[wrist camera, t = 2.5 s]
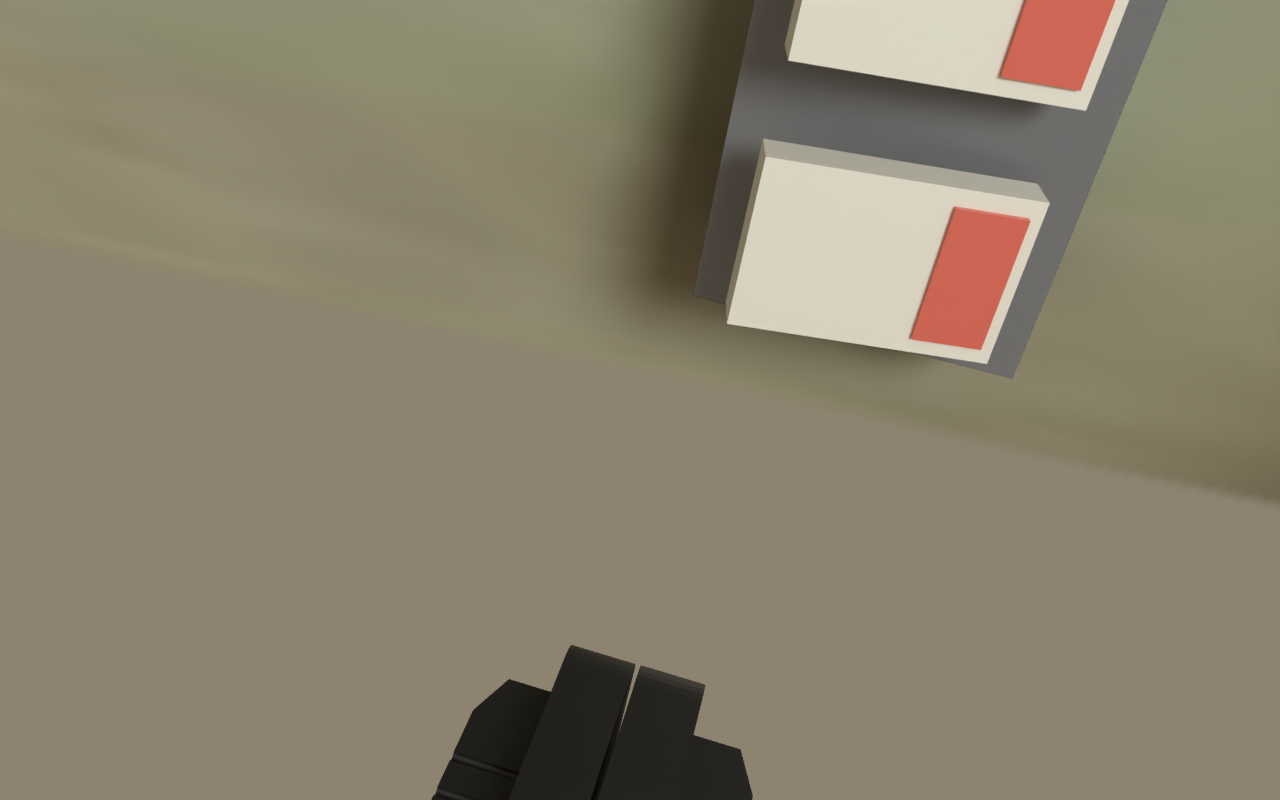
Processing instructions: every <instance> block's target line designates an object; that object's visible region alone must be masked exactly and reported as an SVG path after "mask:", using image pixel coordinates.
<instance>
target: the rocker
mask: <svg viewBox="0 0 1280 800" xmlns="http://www.w3.org/2000/svg"><path fill="white" fill-rule="evenodd" d="M1049 204H1050V203H1049V201H1048V199H1047V198H1046V196H1045V195H1044V193H1043V191H1042V190H1041V188H1040V187H1039V185H1038V184H1036V183H1030V182H1024V181H1018V180H1012V179H1006V178H1000V177H994V176H988V175H982V174H976V173H970V172H964V171H958V170H951V169H945V168H939V167H933V166H927V165H921V164H915V163H909V162H903V161H897V160H891V159H885V158H879V157H872V156H866V155H860V154H854V153H848V152H842V151H836V150H830V149H824V148H818V147H812V146H806V145H800V144H794V143H787V142H781V141H775V140H769V139H763V141H762V145H761V150H760V154H759V159H758V163H757V167H756V172H755V176H754V180H753V185H752V189H751V194H750V198H749V202H748V207H747V211H746V215H745V220H744V224H743V228H742V233H741V237H740V242H739V246H738V250H737V255H736V259H735V263H734V268H733V272H732V276H731V281H730V285H729V290H728V294H727V298H726V316H727V324H732V325H738V326H745V327H751V328H758V329H764V330H771V331H777V332H784V333H790V334H797V335H803V336H810V337H816V338H822V339H829V340H835V341H842V342H848V343H855V344H861V345H868V346H874V347H881V348H887V349H894V350H900V351H907V352H913V353H920V354H926V355H932V356H939V357H945V358H952V359H958V360H965V361H971V362H978V363H984V364H987V363H988V360H989V358H990V355H991V352H992V350H993V347H994V345H995V342H996V340H997V337H998V335H999V332H1000V329H1001V327H1002V324H1003V322H1004V319H1005V317H1006V314H1007V312H1008V309H1009V306H1010V304H1011V301H1012V299H1013V296H1014V294H1015V291H1016V288H1017V286H1018V283H1019V281H1020V278H1021V276H1022V273H1023V271H1024V268H1025V265H1026V263H1027V260H1028V258H1029V255H1030V253H1031V250H1032V248H1033V245H1034V242H1035V240H1036V237H1037V235H1038V232H1039V230H1040V227H1041V225H1042V222H1043V219H1044V217H1045V214H1046V212H1047V209H1048V207H1049Z"/></svg>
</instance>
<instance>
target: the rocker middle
mask: <svg viewBox="0 0 1280 800" xmlns="http://www.w3.org/2000/svg"><path fill="white" fill-rule="evenodd" d="M1128 2H1129V0H795V1H794V6H793V10H792V14H791V19H790V23H789V28H788V32H787V36H786V41H785V49H786V53H787V58H788V61H794V62H800V63H806V64H812V65H818V66H824V67H830V68H835V69H841V70H847V71H853V72H859V73H865V74H871V75H877V76H883V77H889V78H895V79H901V80H906V81H912V82H918V83H924V84H930V85H936V86H942V87H948V88H954V89H960V90H966V91H972V92H977V93H983V94H989V95H995V96H1001V97H1007V98H1013V99H1019V100H1025V101H1031V102H1037V103H1043V104H1048V105H1054V106H1060V107H1066V108H1072V109H1078V110H1084V111H1086V109H1087V107H1088V104H1089V102H1090V99H1091V97H1092V94H1093V92H1094V89H1095V86H1096V84H1097V81H1098V79H1099V76H1100V74H1101V71H1102V69H1103V66H1104V63H1105V61H1106V58H1107V56H1108V53H1109V51H1110V48H1111V46H1112V43H1113V40H1114V38H1115V35H1116V33H1117V30H1118V28H1119V25H1120V22H1121V20H1122V17H1123V15H1124V12H1125V10H1126V7H1127V5H1128Z"/></svg>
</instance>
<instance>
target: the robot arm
mask: <svg viewBox="0 0 1280 800" xmlns="http://www.w3.org/2000/svg"><path fill="white" fill-rule="evenodd" d="M634 669H635V664H633V663H630V662H627V661H623V660H620V659H617V658H613V657H610V656H607V655H603V654H600V653H596V652H593V651H590V650H587V649H583V648H580V647H577V646H573V645H571V646H570V648H569V650H568V652H567V654H566V656H565V658H564V661H563V663H562V666H561V669H560V671H559V674H558V676H557V679H556V681H555V683H554V686H553V688H552V691H551V692H549V691H546V690H543V689H539V688H536V687H533V686H530V685H526V684H523V683H520V682H517V681H513V680H510V679H509V680H507V681H506V682H505V683H504V684H503V685H502V686H501V687H499V688H498V689H497V690H496V691H495V692H494V693H493V694H491V695H490V696H489V697H488V698H487V699H485V700H484V701H483V702H482V703H481V704H480V705H479V706H477V707H476V708H475V709H474V710H473V712H472V714H471V716H470V718H469V720H468V723H467V725H466V727H465V729H464V731H463V733H462V735H461V738H460V740H459V742H458V744H457V746H456V748H455V751H454V754H453V757H452V759H451V760H450V761H449V763H448V765H447V768H446V770H445V772H444V774H443V776H442V778H441V780H440V783H439V785H438V788H437V791H436V794H435V796H433V798H432V800H752V797H753V795H752V792H751V788H750V784H749V780H748V776H747V773H746V769H745V765H744V761H743V757H742V754H741V750H740V749H737V748H734V747H731V746H727V745H724V744H721V743H718V742H714V741H711V740H708V739H704V738H701V737H698V736H695V735H693V734H694V730H695V726H696V722H697V718H698V714H699V710H700V706H701V702H702V697H703V693H704V689H705V685H704V684H701V683H698V682H694V681H691V680H688V679H684V678H681V677H678V676H675V675H671V674H668V673H664V672H661V671H658V670H654V669H651V668H648V667H645V666H641V667H640V669H639V672H638V675H637V678H636V681H635V684H634V687H633V691H632V694H631V697H630V700H629V703H628V706H627V710H626V713H625V716H624V719H623V722H622V718H623V714H624V710H625V706H626V702H627V697H628V694H629V690H630V686H631V682H632V677H633V673H634ZM621 722H622V725H621ZM620 726H621V728H620ZM619 730H620V732H619ZM618 734H619V735H618Z"/></svg>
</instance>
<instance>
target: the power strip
mask: <svg viewBox="0 0 1280 800" xmlns="http://www.w3.org/2000/svg"><path fill="white" fill-rule="evenodd" d="M794 1H795V0H755V1H754V6H753V11H752V15H751V20H750V25H749V30H748V35H747V39H746V44H745V49H744V54H743V58H742V63H741V68H740V73H739V77H738V82H737V87H736V92H735V97H734V101H733V106H732V111H731V116H730V120H729V125H728V130H727V135H726V140H725V144H724V149H723V154H722V159H721V163H720V168H719V173H718V178H717V182H716V187H715V192H714V197H713V202H712V206H711V211H710V216H709V221H708V225H707V230H706V235H705V240H704V244H703V249H702V254H701V259H700V264H699V268H698V273H697V278H696V283H695V287H694V292H693V296H696V297H700V298H704V299H708V300H711V301H715V302H719V303H723V304H726V298H727V294H728V290H729V285H730V281H731V276H732V272H733V268H734V263H735V259H736V255H737V250H738V246H739V242H740V237H741V233H742V228H743V224H744V220H745V215H746V211H747V207H748V202H749V198H750V194H751V189H752V185H753V180H754V176H755V172H756V167H757V163H758V159H759V154H760V150H761V145H762V141H763V139H769V140H775V141H781V142H787V143H794V144H800V145H806V146H812V147H818V148H824V149H830V150H836V151H842V152H848V153H854V154H860V155H866V156H872V157H879V158H885V159H891V160H897V161H903V162H909V163H915V164H921V165H927V166H933V167H939V168H945V169H951V170H958V171H964V172H970V173H976V174H982V175H988V176H994V177H1000V178H1006V179H1012V180H1018V181H1024V182H1030V183H1036V184H1038V185H1039V187H1040V188H1041V190H1042V191H1043V193H1044V195H1045V196H1046V198H1047V199H1048V201H1049V203H1050V204H1049V207H1048V209H1047V212H1046V214H1045V217H1044V219H1043V222H1042V225H1041V227H1040V230H1039V232H1038V235H1037V237H1036V240H1035V242H1034V245H1033V248H1032V250H1031V253H1030V255H1029V258H1028V260H1027V263H1026V265H1025V268H1024V271H1023V273H1022V276H1021V278H1020V281H1019V283H1018V286H1017V288H1016V291H1015V294H1014V296H1013V299H1012V301H1011V304H1010V306H1009V309H1008V312H1007V314H1006V317H1005V319H1004V322H1003V324H1002V327H1001V329H1000V332H999V335H998V337H997V340H996V342H995V345H994V347H993V350H992V352H991V355H990V358H989V360H988V363H987V364H984V363H978V362H971V361H965V360H958V359H952V358H945V357H939V356H932V355H926V354H920V353H915V354H919V355H923V356H927V357H930V358H934V359H938V360H942V361H946V362H950V363H953V364H957V365H961V366H965V367H969V368H973V369H977V370H980V371H984V372H988V373H992V374H996V375H1000V376H1003V377H1007V378H1011V379H1013V376H1014V374H1015V371H1016V369H1017V366H1018V364H1019V362H1020V359H1021V357H1022V354H1023V352H1024V349H1025V347H1026V345H1027V342H1028V340H1029V337H1030V335H1031V332H1032V330H1033V327H1034V325H1035V323H1036V320H1037V318H1038V315H1039V313H1040V310H1041V308H1042V305H1043V303H1044V301H1045V298H1046V296H1047V293H1048V291H1049V288H1050V286H1051V283H1052V281H1053V279H1054V276H1055V274H1056V271H1057V269H1058V266H1059V264H1060V261H1061V259H1062V257H1063V254H1064V252H1065V249H1066V247H1067V244H1068V242H1069V240H1070V237H1071V235H1072V232H1073V230H1074V227H1075V225H1076V222H1077V220H1078V218H1079V215H1080V213H1081V210H1082V208H1083V205H1084V203H1085V200H1086V198H1087V196H1088V193H1089V191H1090V188H1091V186H1092V183H1093V181H1094V178H1095V176H1096V174H1097V171H1098V169H1099V166H1100V164H1101V161H1102V159H1103V156H1104V154H1105V152H1106V149H1107V147H1108V144H1109V142H1110V139H1111V137H1112V135H1113V132H1114V130H1115V127H1116V125H1117V122H1118V120H1119V117H1120V115H1121V113H1122V110H1123V108H1124V105H1125V103H1126V100H1127V98H1128V95H1129V93H1130V91H1131V88H1132V86H1133V83H1134V81H1135V78H1136V76H1137V73H1138V71H1139V69H1140V66H1141V64H1142V61H1143V59H1144V56H1145V54H1146V51H1147V49H1148V47H1149V44H1150V42H1151V39H1152V37H1153V34H1154V32H1155V30H1156V27H1157V25H1158V22H1159V20H1160V17H1161V15H1162V12H1163V10H1164V8H1165V5H1166V3H1167V0H1129V2H1128V5H1127V7H1126V10H1125V12H1124V15H1123V17H1122V20H1121V22H1120V25H1119V28H1118V30H1117V33H1116V35H1115V38H1114V40H1113V43H1112V46H1111V48H1110V51H1109V53H1108V56H1107V58H1106V61H1105V63H1104V66H1103V69H1102V71H1101V74H1100V76H1099V79H1098V81H1097V84H1096V86H1095V89H1094V92H1093V94H1092V97H1091V99H1090V102H1089V104H1088V107H1087V109H1086V111H1084V110H1078V109H1072V108H1066V107H1060V106H1054V105H1048V104H1043V103H1037V102H1031V101H1025V100H1019V99H1013V98H1007V97H1001V96H995V95H989V94H983V93H977V92H972V91H966V90H960V89H954V88H948V87H942V86H936V85H930V84H924V83H918V82H912V81H906V80H901V79H895V78H889V77H883V76H877V75H871V74H865V73H859V72H853V71H847V70H841V69H835V68H830V67H824V66H818V65H812V64H806V63H800V62H794V61H788V58H787V53H786V49H785V41H786V36H787V32H788V28H789V23H790V19H791V14H792V10H793V6H794ZM911 353H913V352H911Z"/></svg>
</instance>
